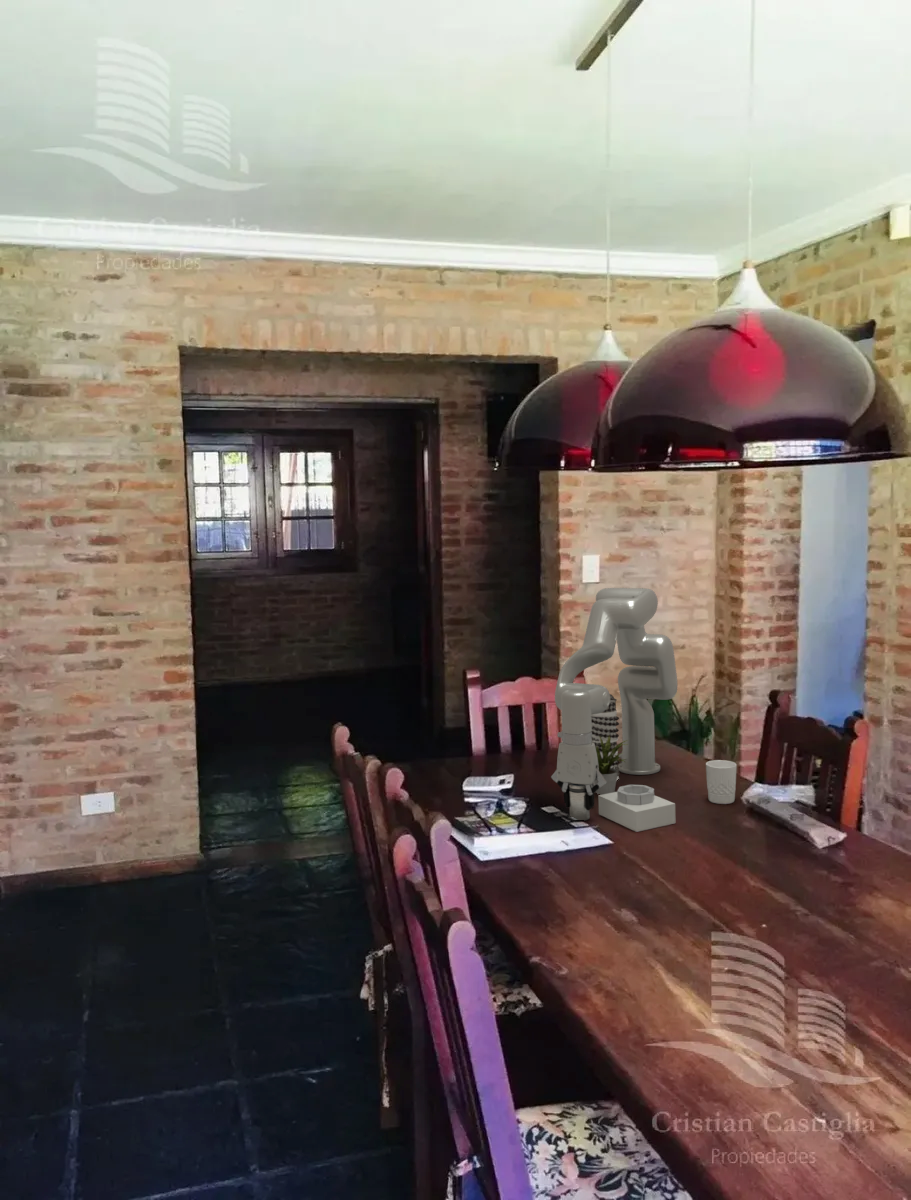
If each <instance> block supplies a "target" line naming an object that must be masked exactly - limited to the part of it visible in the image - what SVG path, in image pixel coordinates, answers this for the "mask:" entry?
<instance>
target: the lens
mask: <svg viewBox="0 0 911 1200" xmlns="http://www.w3.org/2000/svg"><path fill="white" fill-rule="evenodd" d="M586 795H587V789H586V786H585V785H583V784H574V783H569V805H570V807H569V817H570V816H571V817H574V818H577V819H580V820H584V821H588V820H589V819H590V810H586Z"/></svg>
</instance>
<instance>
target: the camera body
mask: <svg viewBox="0 0 911 1200" xmlns="http://www.w3.org/2000/svg"><path fill="white" fill-rule="evenodd" d="M597 795H598V794H597ZM597 797H598V815H599V816H602V817H603V818H606V819H608V820H610V821H613V822H615V823H617V824H619V825H621V826H623V827H625V828H627V829H629V830H631V831H633V832H642V831H647V830H651V829H655V828H656V829H657V828H660V827H665V826H669V825H672V824H676V820H677V819H676V803H675V802H672V801H670V800H667V799H665V798H663V797H660V796H657V795H655V788H653V787H650V786H648V785H645V784H644V785H643V784H626V785H622V786H619V787H618V789H617V791H615V792H613V793H608V794H603V795H598V796H597Z"/></svg>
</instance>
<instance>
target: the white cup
mask: <svg viewBox="0 0 911 1200" xmlns="http://www.w3.org/2000/svg"><path fill="white" fill-rule="evenodd" d="M705 773H706V774H705V775H706V787H707V795H708V798H707V799H708V801H709V802H710V803H712V804H719V805H720V804H721V805H727V804H732V803H734V802H735V801H736V800H735V799H736V786H737V785H736V784H737V763H736V762H735V761H732V760H725V759H723V760H721V759H715V760H709V761H707V762H705Z"/></svg>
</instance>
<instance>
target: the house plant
mask: <svg viewBox="0 0 911 1200" xmlns="http://www.w3.org/2000/svg"><path fill="white" fill-rule="evenodd" d="M600 740H601V746H602V754H603V760H602V758H601V754H600V752H599V748H598V746H597V748H596V746H595V748H596V752H597V758H598V766H599V772H600V773H601V774H602V776H603V777H604V778H605V780H606V783H605V784H604V785H603V786H601V787H600V788H599V789H598V790H597V791H596V792H595V794H596V793H597V794H596V795H598V794H600V795H603V794H608V793H613V792H616V785H617V781H616V779H617V770H616V769H613V768H610V767H611V765H612V764H613V763H614V762H615V761H619V762H618V764H620V762H622V761H624V760H626V759H623V760H622V758H620V757H618V756H619V755H620V754H622V752H621V753H620V754H619V753H618V755H614V754H615V753H616V751H618V752H619V751H620V748H623V745H629V744H623V743H624V742H626V741H628V740H626V741H623V740H622V741H620V742H619V743H617V746H616V747H615V748H613V749H611V750H609V749H610V746H611V743H610V740H611V737H610V736H609V737H608V740H607V742H606V744H605V747H604V744H603V741H602V739H601V737H600ZM612 750H613V751H612ZM611 751H612V752H611ZM609 752H611V754H610V755H609V756H608V753H609ZM612 754H613V755H612ZM613 756H615V757H613ZM610 758H611V759H610ZM609 760H610V761H609ZM608 762H609V763H608ZM624 762H625V761H624ZM597 783H598V780H595V782H594V785H596V784H597Z"/></svg>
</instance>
